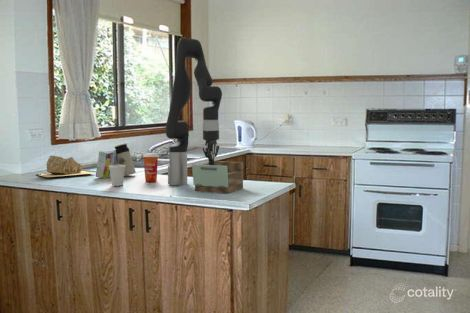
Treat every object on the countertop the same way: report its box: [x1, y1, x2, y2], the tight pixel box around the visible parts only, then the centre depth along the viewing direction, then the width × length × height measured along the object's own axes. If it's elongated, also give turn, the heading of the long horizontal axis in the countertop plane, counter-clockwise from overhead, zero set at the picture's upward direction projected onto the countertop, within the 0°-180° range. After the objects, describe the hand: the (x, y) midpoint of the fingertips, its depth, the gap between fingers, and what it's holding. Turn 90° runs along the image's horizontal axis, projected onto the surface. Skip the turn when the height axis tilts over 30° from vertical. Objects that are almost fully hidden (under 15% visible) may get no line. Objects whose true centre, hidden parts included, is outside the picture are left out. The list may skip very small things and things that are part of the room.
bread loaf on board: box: [39, 155, 93, 178], centre depth 299 cm, size 28×22×16 cm
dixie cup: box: [109, 165, 125, 187], centre depth 259 cm, size 8×8×10 cm
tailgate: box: [191, 163, 228, 188], centre depth 234 cm, size 18×2×10 cm, turn 65°
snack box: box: [95, 148, 119, 180], centre depth 290 cm, size 21×6×15 cm, turn 162°
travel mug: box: [114, 142, 136, 177], centre depth 290 cm, size 8×8×18 cm
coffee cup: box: [142, 152, 159, 183], centre depth 272 cm, size 8×8×15 cm
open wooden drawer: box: [194, 160, 244, 194], centre depth 243 cm, size 18×16×13 cm
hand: (211, 166), depth 235 cm, fingers closed
